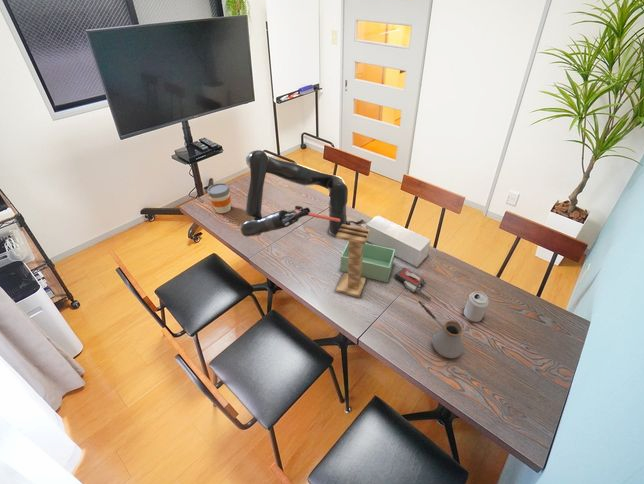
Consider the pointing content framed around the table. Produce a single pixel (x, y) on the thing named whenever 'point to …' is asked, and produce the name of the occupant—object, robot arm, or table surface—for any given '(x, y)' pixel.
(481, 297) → the can
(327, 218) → the straw
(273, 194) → the table surface
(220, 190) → the reusable coffee cup
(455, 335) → the coffee pot
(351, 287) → the stand
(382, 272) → the bin
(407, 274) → the walkie-talkie
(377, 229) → the stack of papers
